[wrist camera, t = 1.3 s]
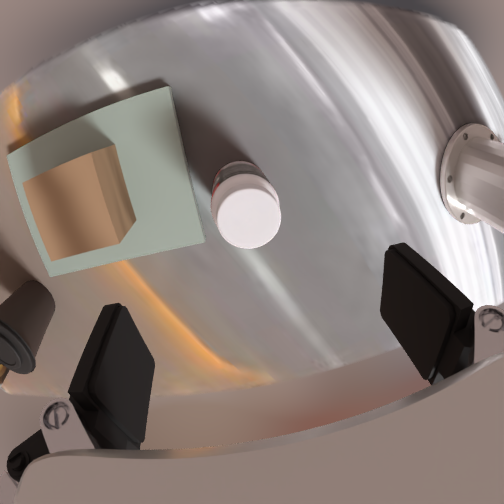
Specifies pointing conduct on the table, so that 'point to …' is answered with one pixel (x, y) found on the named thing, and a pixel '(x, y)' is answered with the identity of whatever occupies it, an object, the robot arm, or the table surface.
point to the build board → (134, 171)
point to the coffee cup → (24, 326)
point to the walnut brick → (81, 204)
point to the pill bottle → (245, 205)
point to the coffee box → (3, 373)
